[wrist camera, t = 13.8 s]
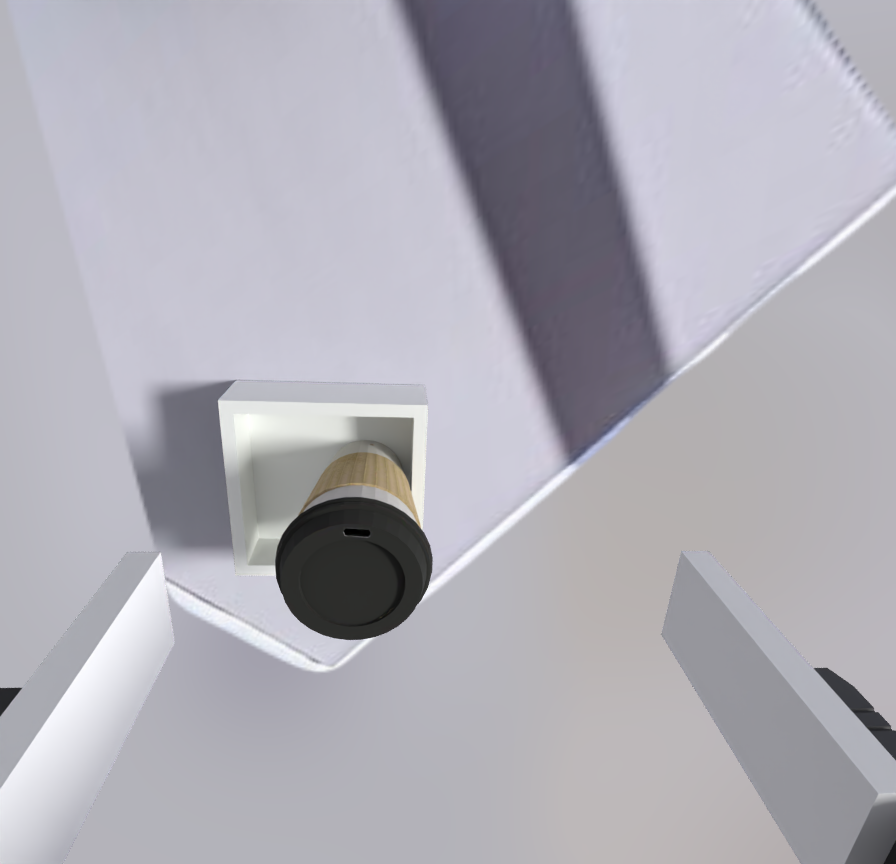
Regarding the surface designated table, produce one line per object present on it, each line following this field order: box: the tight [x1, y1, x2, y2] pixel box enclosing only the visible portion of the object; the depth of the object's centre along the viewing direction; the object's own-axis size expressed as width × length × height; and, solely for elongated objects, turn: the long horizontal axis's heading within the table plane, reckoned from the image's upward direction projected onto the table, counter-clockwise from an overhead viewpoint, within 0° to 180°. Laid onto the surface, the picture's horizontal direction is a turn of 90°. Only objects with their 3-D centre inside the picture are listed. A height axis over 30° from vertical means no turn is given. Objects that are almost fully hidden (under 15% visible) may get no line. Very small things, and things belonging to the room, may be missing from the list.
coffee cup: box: [275, 440, 432, 640], centre depth 41 cm, size 10×10×15 cm
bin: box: [218, 380, 428, 576], centre depth 46 cm, size 15×15×5 cm
